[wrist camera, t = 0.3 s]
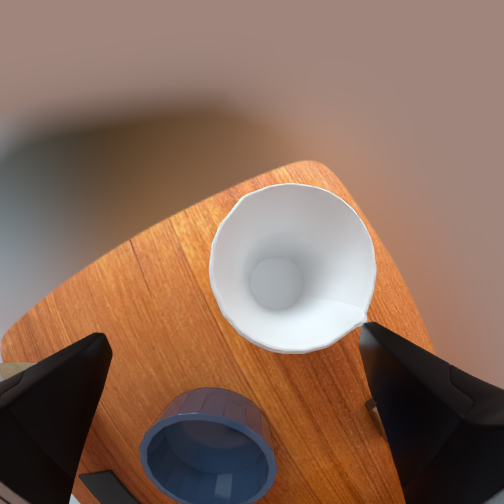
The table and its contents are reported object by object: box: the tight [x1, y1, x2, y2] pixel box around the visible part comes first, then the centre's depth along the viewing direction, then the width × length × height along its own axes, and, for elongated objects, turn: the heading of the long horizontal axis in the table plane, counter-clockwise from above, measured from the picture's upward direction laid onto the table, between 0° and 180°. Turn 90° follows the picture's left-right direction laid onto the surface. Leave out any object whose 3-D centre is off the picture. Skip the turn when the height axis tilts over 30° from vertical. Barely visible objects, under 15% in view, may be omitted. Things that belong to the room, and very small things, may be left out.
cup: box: [209, 183, 377, 354], centre depth 18 cm, size 9×9×10 cm
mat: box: [78, 470, 140, 504], centre depth 19 cm, size 9×6×1 cm, turn 29°
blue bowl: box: [140, 388, 277, 504], centre depth 18 cm, size 10×10×6 cm
